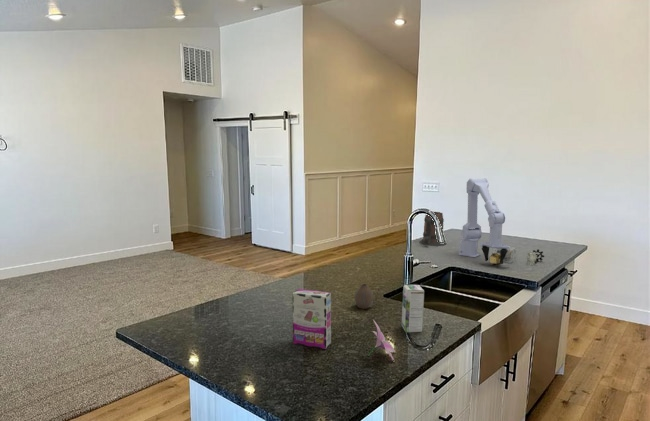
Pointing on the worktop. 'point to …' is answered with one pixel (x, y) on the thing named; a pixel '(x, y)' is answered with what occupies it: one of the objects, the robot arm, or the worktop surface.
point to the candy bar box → (312, 318)
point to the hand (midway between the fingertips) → (493, 261)
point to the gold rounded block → (495, 258)
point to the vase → (363, 297)
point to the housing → (507, 254)
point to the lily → (382, 342)
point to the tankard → (431, 230)
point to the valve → (534, 257)
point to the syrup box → (412, 308)
